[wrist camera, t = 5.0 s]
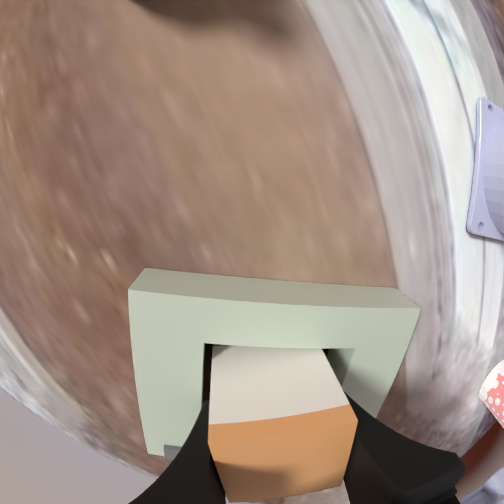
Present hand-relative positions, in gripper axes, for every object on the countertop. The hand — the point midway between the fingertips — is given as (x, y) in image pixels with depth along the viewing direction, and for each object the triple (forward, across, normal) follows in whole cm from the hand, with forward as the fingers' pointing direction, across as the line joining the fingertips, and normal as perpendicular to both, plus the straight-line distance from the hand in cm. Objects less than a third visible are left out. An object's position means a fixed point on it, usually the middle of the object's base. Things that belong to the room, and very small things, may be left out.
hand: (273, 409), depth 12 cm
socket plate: (+3, 0, 0) cm, 3 cm away
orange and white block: (+2, 0, 0) cm, 2 cm away
